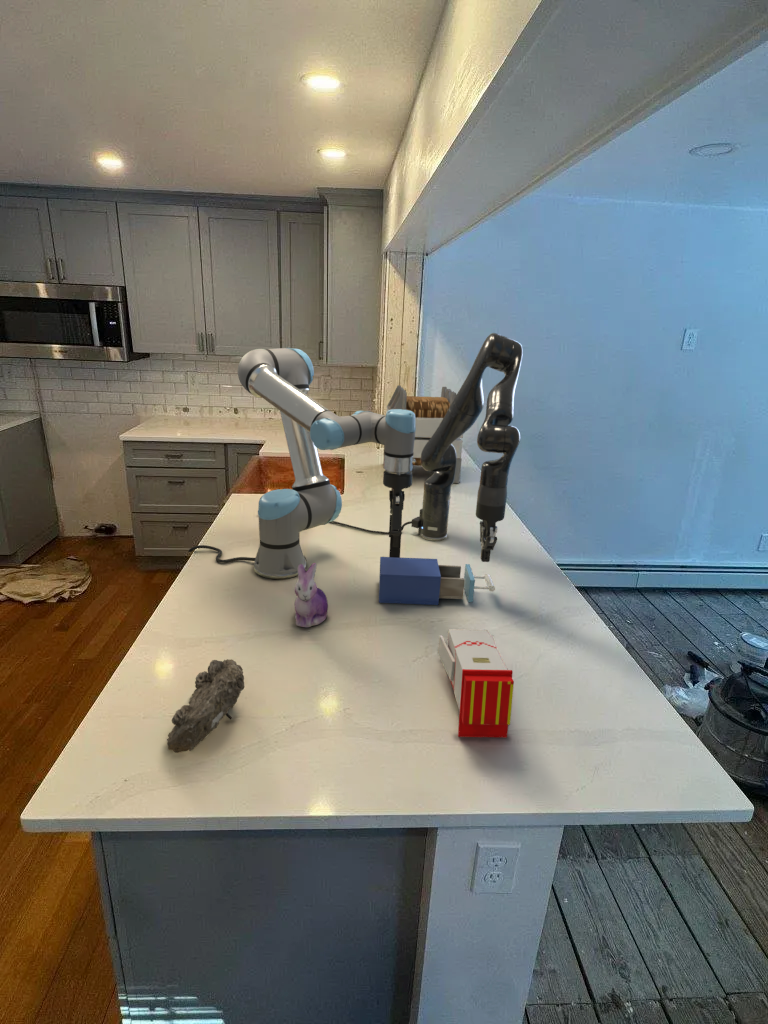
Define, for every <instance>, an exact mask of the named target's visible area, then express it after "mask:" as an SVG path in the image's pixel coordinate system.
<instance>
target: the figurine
mask: <svg viewBox="0 0 768 1024" xmlns="http://www.w3.org/2000/svg"><path fill="white" fill-rule="evenodd" d="M316 573H317V563H316V562H313V563H311V565H310V566H309V567H308V569H307V570H306V569H305V568H304V566H303V564H299V566H298V575H297V578H298V579H297V581H296V583H295V586H294V589H293V590H294V594H295V596H296V598H295V601H294V612H295V615H294V619H295V626H297V627H302V628H311V627H312V626H313V627H314V626H318V625H320V624H322V623H323V622H324V621H325V620H326V619H327V616H328V610H329V604H328V598H327V595H326V594H325V592H324V591H323V590H322V589H321V588H319V587H318V586H317V583H316V581H315V575H316Z"/></svg>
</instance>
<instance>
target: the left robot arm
mask: <svg viewBox="0 0 768 1024" xmlns="http://www.w3.org/2000/svg"><path fill="white" fill-rule="evenodd" d="M314 376H315V370H314V365H313V362H312V360H311V358H310V357H309V355H308V354H307V353H306V352H305V351H303V350H302V349H299V348H292V347H280V348H277V347H275V348H256V349H252V350H250V351H248V352H246V353H244V355H243V356H242V357H241V359H240V360H239V363H238V366H237V377H238V378H237V379H238V381H239V383H240V384H241V386H242V387H243V388H244V390H245V391H247V393H249V394H250V395H252V396H253V397H255V398H258V399H263V400H264V401H266V402H268V403H269V405H271V406H273V407H275V408H276V409H277V410H278V411H279V414H280V417H281V422H282V426H283V431H284V435H285V436H284V437H285V440H286V444H287V449H288V453H289V459H290V462H291V467H292V472H293V476H294V482H293V484H292V485H291V488H282V489H279V488H277V489H273V490H270V491H267V492H266V493H263V494H262V495H261V497H260V498H259V500H258V508H257V516H258V536H259V539H258V540H259V545H258V549H257V551H256V555H255V557H248V556H237V557H231V558H227V559H223V558H222V559H221V558H220V557H221V556H222V554H223V551H222V549H220V548H218V547H216V546H211V545H204V544H200V545H199V544H198V545H195V546H192V547H190V548H189V549H188V550H187V551H188V553H191V552H193V551H195V550H198V549H207V550H212V551H214V552H217V555H216V556H215V561H216V562H218V563H221V564H227V563H232V562H238V561H248V562H249V561H250V562H254V563H253V571H254V573H255V574H257V575H258V576H260V577H263V578H266V579H271V580H285V579H292V578H295V577H298V566H299V564H303V566H304V568H305V570H306V568H307V562H306V561H307V558H306V556H305V555H304V552H303V549H302V547H301V543H300V542H301V541H300V539H301V538H300V536H301V535H300V532H304V531H306V530H309V529H313V528H317V527H320V526H325V525H327V524H329V523H331V522H332V521H336V520H337V519H338V517H339V516H340V513H341V511H342V508H343V500H342V495H341V492H340V490H339V489H338V488H337V486H335V485H333V484H331V481H330V478H328V477H327V476H326V475H325V474H324V473H323V467H322V464H321V459H320V455H319V450H320V451H329V450H331V451H334V450H337V449H340V448H341V449H342V448H345V447H350V446H357V445H362V444H367V443H374V444H378V445H382V446H384V445H385V450H384V449H383V463H384V464H383V467H382V468H383V469H384V471H383V474H382V484H383V485H384V487H386V488H388V489H391V490H389V491H388V497H389V509H390V510H389V524H388V531H387V532H388V534H387V536H388V538H389V553H388V554H389V555H388V557H394V558H400V557H401V547H402V545H401V544H402V543H401V542H402V534H403V532H402V531H401V527H402V525H403V524H402V523H403V511H404V503H405V499H406V496H405V495H406V494H405V490H404V489H409V488H411V487H412V485H413V472H412V471H413V469H414V468H413V467H414V466H413V463H414V462H416V460H415V459H413V455H414V440H415V431H416V421H415V414H414V413H413V412H412V411H409V410H402V409H392V410H389V411H387V410H386V412H387V413H385V414H381V413H377V412H376V413H375V412H373V411H370V410H356V411H355V412H354V413H353V414H350V415H344V416H343V415H342V416H339V415H337V414H336V413H334V412H333V411H332V410H330V409H328V408H327V407H326V406H323V405H322V404H321V403H320V402H318V401H316V400H315V399H314V398H312V397H311V396H309V395H308V394H309V393H310V389H311V388H310V385H311V384H312V383H313V380H314V378H313V377H314ZM197 548H198V549H197Z"/></svg>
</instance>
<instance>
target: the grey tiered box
mask: <svg viewBox="0 0 768 1024" xmlns="http://www.w3.org/2000/svg"><path fill="white" fill-rule="evenodd" d="M440 393H441V394H440V396H415V395H414V396H413V395H412V396H411V395H407V394H408V393H407V390H406V389H404V388H403V387H402V385H399V384H398V385H397V386H396V388H395V390H394V392H393V394H392V395H391V398H390V400H389V402H388V404H387V405H386V413H387V411H389V410H392V409H402V410H409V411H412V412H413V413H414V414H415V421H416V431H415V440H414V455H413V459H415V460H416V462H414V463H413V467H415V466H416V467H417V466H418V467H422V465H421V461H420V458H421V453H422V450H423V448H424V447H425V445H426V444H427V442H428V441H429V440H430V438H431V437H432V436H433V434H434V433H435V431H436V430H437V428H438V427H439V425H440V423H441V421H442V420H443V418H444V416H445V415H446V413H447V411H448V409H449V407H450V405H451V403H452V402H453V400H454V398H455V396H456V395H457V392H455V391H453V390H452V389H451V388H447V386H442V387H441V392H440ZM386 413H385V414H386ZM463 438H464V434H462V435H461V436H460V437H459V438H457V439H456V440H455V441H454V442H453V443H452V445H453V446H454V448H455V450H456V455H457V460H456V469H455V476H454V482H453V484H455V483H456V484H459V483H461V472H462V461H463V460H462V453H463V442H464V441H463V440H462V439H463ZM384 450H385V445H383V451H384ZM383 465H384V462H383Z"/></svg>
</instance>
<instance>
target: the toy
mask: <svg viewBox="0 0 768 1024" xmlns="http://www.w3.org/2000/svg"><path fill="white" fill-rule="evenodd" d="M446 640H447V643H446V641H445V639H444V636H443V635H442V634H439V637H438V646H437V656H438V657H439V659H440V661H441V663H442V666H443V668H444V670H445V672H446V674H447V677H448V679H449V681H450V684H451V687H452V690H453V693H454V697H455V701H456V705H457V708H458V711H459V714H458V715H459V716H458V730H457V731H458V732H457V737H458V738H508V731H509V726H510V725H511V717H512V707H513V697H514V696H513V695H514V684H515V680H514V679H513V673H514V671H513V670H512V669H508V667H507V665H506V662H505V661H504V659H503V658H502V655H501V653H500V651H499V649H498V647H497V643H496V639H495V637H494V635H493V634H491V632H490V631H489V629H467V628H466V629H465V628H463V629H461V628H460V629H459V628H448V630H447V639H446Z"/></svg>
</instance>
